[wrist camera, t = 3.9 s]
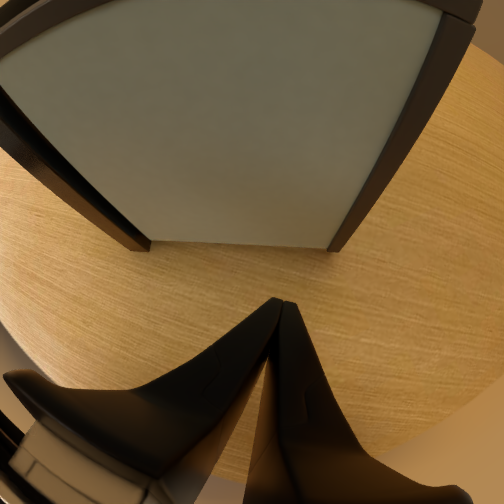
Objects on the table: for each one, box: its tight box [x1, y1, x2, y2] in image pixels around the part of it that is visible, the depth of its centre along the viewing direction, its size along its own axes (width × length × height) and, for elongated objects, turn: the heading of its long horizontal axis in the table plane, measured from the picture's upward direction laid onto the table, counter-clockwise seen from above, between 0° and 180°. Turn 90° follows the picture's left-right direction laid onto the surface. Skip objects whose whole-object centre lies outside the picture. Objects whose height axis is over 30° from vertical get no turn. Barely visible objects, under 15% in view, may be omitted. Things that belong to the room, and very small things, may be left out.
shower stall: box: [0, 0, 151, 252], centre depth 12 cm, size 14×15×18 cm
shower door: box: [0, 0, 483, 252], centre depth 10 cm, size 1×12×16 cm, turn 86°
